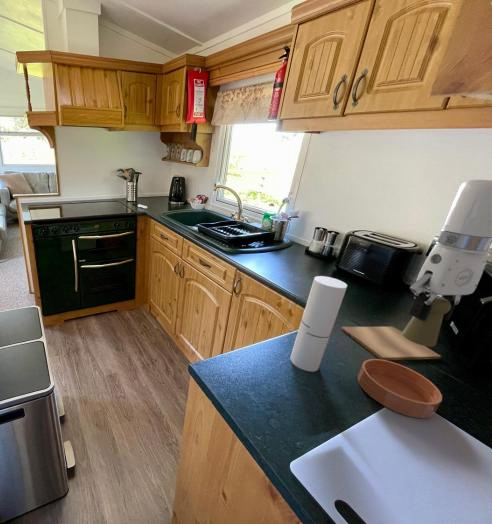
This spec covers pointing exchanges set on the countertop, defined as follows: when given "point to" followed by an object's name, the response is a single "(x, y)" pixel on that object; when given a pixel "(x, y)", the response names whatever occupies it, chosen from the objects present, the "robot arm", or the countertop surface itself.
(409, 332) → the pepper shaker
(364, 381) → the terracotta dish
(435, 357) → the cutting board
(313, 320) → the cylindrical container
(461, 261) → the robot arm
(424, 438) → the countertop surface
